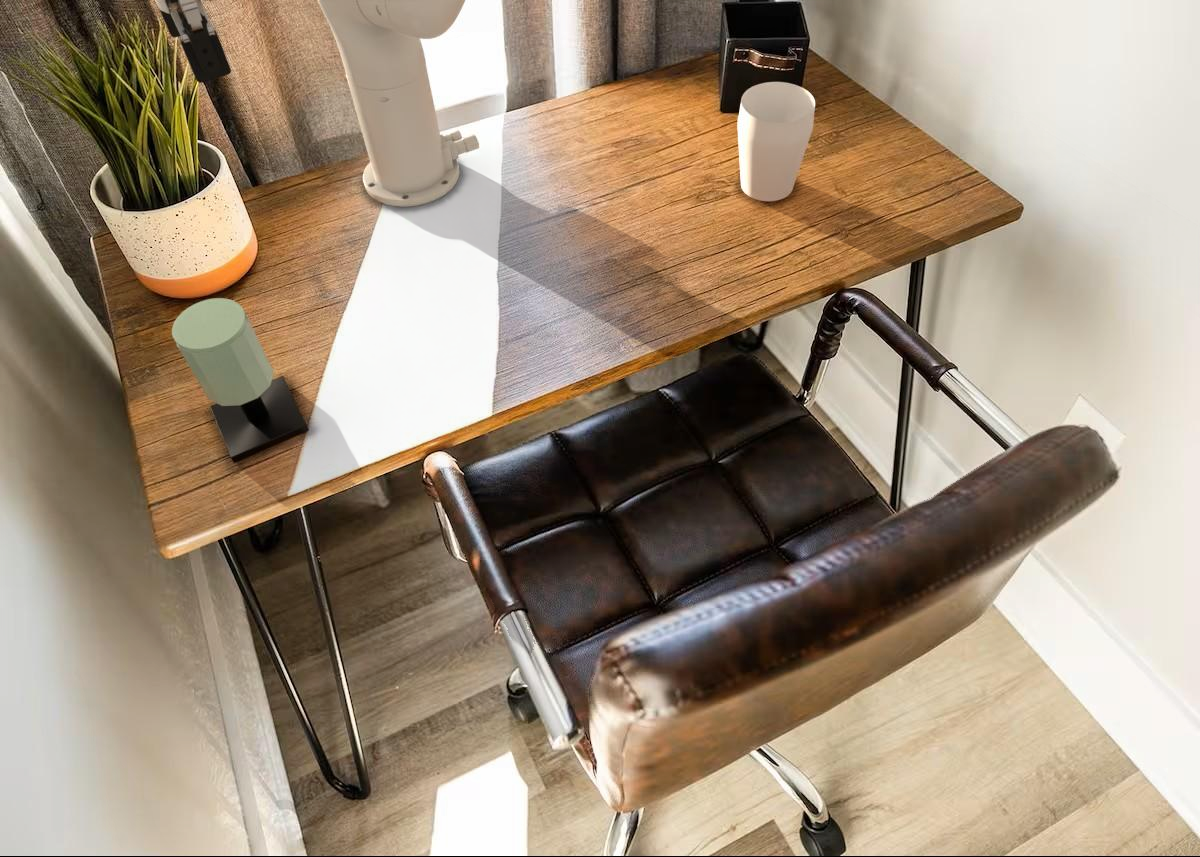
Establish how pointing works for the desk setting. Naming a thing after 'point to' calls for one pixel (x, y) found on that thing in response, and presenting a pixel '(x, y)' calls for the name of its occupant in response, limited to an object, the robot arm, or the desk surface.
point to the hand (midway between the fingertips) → (200, 54)
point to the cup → (773, 138)
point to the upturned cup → (223, 351)
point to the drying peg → (260, 421)
